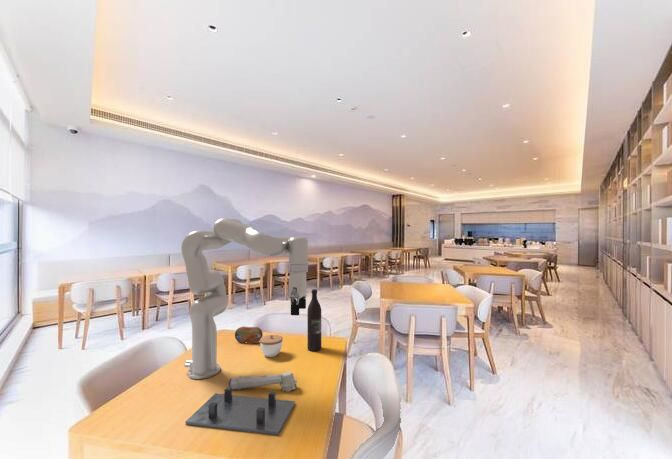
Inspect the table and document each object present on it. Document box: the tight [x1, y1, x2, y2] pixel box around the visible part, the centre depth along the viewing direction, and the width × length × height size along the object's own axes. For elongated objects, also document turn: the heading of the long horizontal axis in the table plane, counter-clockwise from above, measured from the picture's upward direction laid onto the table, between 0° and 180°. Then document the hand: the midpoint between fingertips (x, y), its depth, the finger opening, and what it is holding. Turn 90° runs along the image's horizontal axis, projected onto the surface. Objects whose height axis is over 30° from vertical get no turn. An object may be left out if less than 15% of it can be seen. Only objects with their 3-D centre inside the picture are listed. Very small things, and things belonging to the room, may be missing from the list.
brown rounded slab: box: [234, 326, 264, 344], centre depth 159 cm, size 15×3×8 cm, turn 81°
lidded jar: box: [259, 334, 283, 358], centre depth 143 cm, size 11×11×9 cm
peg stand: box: [185, 386, 296, 437], centre depth 96 cm, size 30×16×5 cm, turn 80°
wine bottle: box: [306, 288, 322, 352], centre depth 150 cm, size 7×7×30 cm
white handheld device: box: [228, 371, 298, 393], centre depth 112 cm, size 5×7×25 cm
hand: (298, 311), depth 116 cm, fingers open, 9 cm apart
